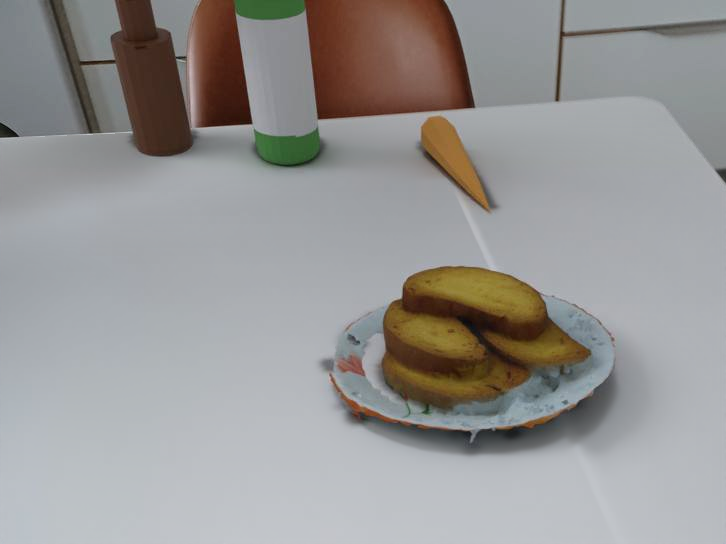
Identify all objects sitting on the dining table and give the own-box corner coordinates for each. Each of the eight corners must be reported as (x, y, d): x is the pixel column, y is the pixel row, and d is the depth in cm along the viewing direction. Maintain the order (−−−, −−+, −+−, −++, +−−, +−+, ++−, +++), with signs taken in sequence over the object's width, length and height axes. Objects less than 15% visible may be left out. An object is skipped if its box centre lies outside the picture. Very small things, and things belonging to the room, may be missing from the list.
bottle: (136, 158, 117) (99, 6, 105) (137, 136, 122) (101, -12, 110) (193, 153, 118) (162, 2, 106) (192, 132, 123) (162, -15, 111)
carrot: (423, 154, 120) (410, 121, 117) (455, 135, 120) (442, 102, 116) (479, 238, 110) (466, 206, 106) (514, 218, 109) (503, 185, 105)
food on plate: (337, 472, 77) (328, 401, 72) (325, 313, 93) (317, 247, 88) (646, 445, 79) (658, 375, 74) (581, 295, 96) (587, 231, 91)
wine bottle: (256, 144, 120) (208, -165, 98) (319, 140, 121) (285, -167, 99) (258, 169, 115) (208, -151, 93) (323, 165, 116) (289, -153, 94)
